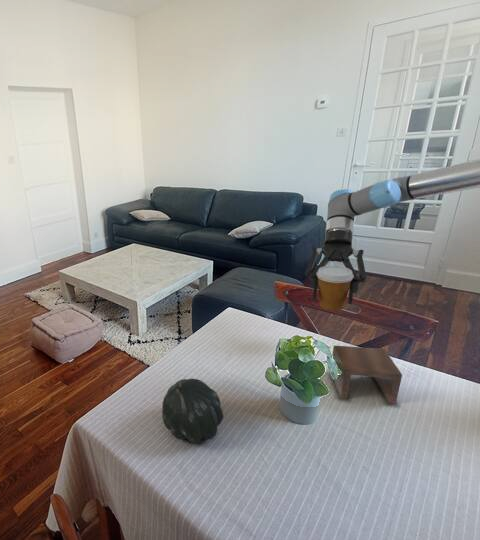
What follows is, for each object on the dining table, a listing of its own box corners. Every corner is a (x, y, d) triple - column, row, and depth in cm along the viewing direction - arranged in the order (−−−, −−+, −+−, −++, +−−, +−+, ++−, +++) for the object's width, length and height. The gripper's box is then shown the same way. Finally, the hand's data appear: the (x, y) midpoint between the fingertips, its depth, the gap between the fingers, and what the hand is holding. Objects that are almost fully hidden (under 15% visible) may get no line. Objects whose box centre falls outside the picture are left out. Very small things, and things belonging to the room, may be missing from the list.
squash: (234, 394, 86) (193, 355, 85) (234, 444, 73) (185, 399, 72) (193, 416, 93) (155, 380, 92) (187, 465, 80) (142, 423, 79)
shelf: (379, 376, 94) (384, 348, 91) (395, 404, 85) (402, 374, 81) (330, 371, 98) (333, 345, 95) (340, 397, 88) (345, 369, 85)
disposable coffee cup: (347, 316, 99) (351, 278, 95) (310, 309, 105) (313, 274, 101) (351, 303, 105) (356, 267, 101) (317, 297, 111) (320, 263, 107)
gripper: (377, 241, 106) (373, 309, 99) (301, 238, 117) (293, 299, 110) (382, 229, 100) (378, 300, 93) (301, 227, 111) (292, 291, 104)
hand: (331, 300), depth 101 cm, fingers closed on disposable coffee cup, 8 cm apart
